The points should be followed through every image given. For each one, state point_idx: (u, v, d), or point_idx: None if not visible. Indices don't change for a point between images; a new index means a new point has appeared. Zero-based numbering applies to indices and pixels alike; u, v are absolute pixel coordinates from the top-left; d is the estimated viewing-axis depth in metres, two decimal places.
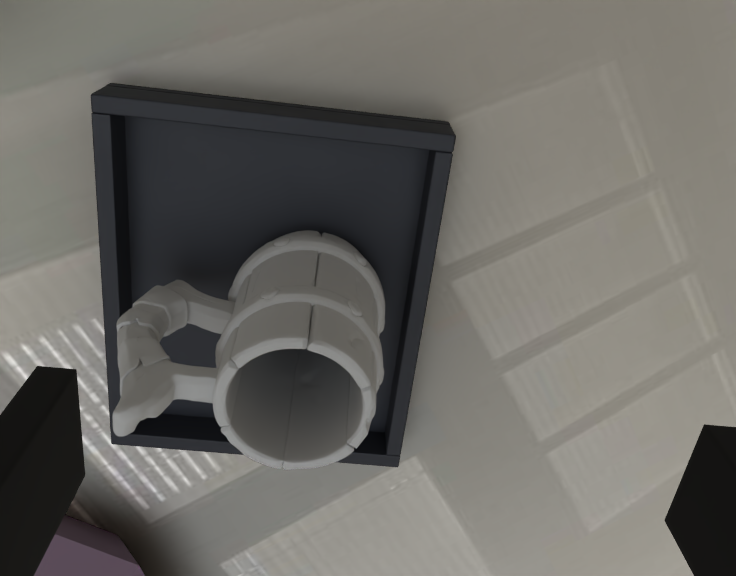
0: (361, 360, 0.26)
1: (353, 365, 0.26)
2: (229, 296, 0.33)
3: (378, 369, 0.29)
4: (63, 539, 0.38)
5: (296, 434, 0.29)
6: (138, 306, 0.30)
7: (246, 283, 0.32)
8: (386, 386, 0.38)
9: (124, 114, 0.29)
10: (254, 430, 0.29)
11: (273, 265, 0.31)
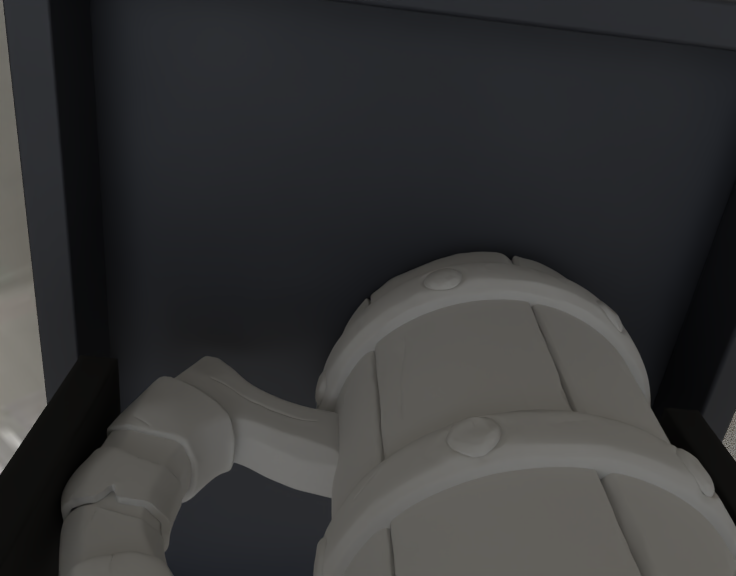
0: None
1: None
2: (320, 395, 0.15)
3: None
4: None
5: None
6: (119, 439, 0.13)
7: (368, 376, 0.14)
8: None
9: None
10: None
11: (438, 340, 0.13)
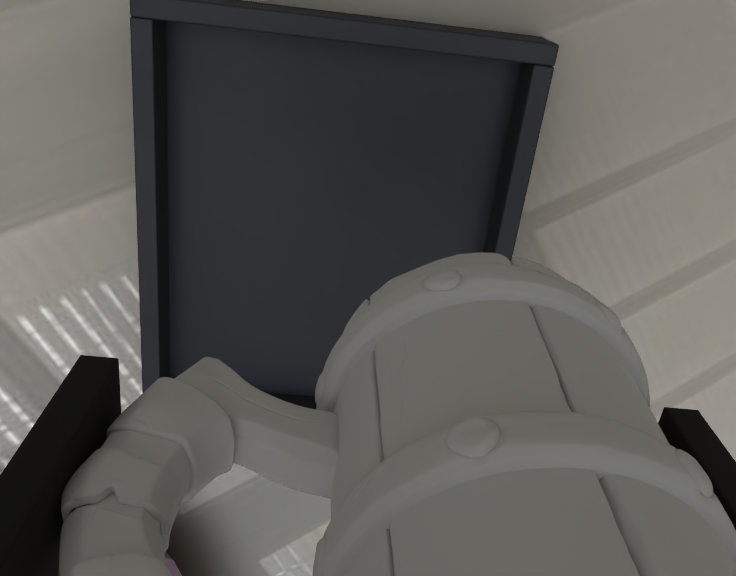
0: None
1: None
2: (319, 396, 0.15)
3: None
4: None
5: None
6: (119, 440, 0.13)
7: (368, 377, 0.14)
8: None
9: (169, 18, 0.25)
10: None
11: (437, 340, 0.13)
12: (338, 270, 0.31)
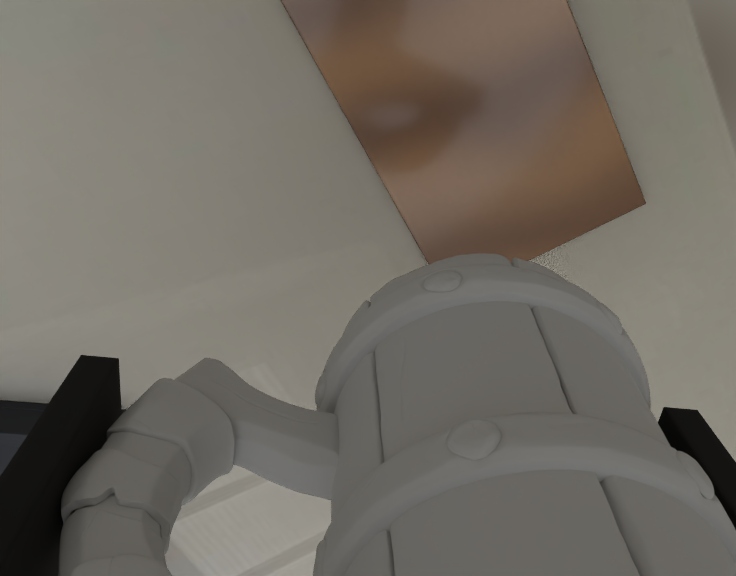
0: None
1: None
2: (320, 397, 0.15)
3: None
4: None
5: None
6: (119, 442, 0.13)
7: (368, 378, 0.14)
8: None
9: None
10: None
11: (437, 342, 0.13)
12: None
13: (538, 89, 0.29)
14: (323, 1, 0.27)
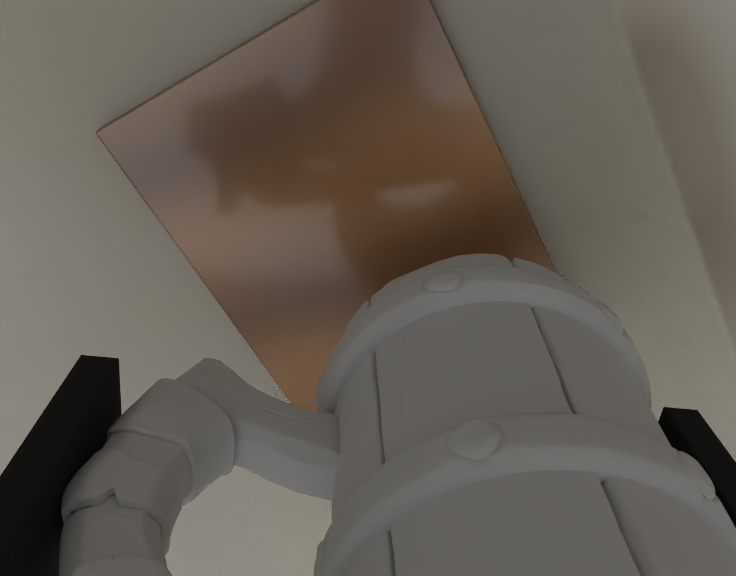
0: None
1: None
2: (320, 397, 0.15)
3: None
4: None
5: None
6: (119, 442, 0.13)
7: (369, 379, 0.14)
8: None
9: None
10: None
11: (438, 342, 0.13)
12: None
13: None
14: (169, 156, 0.20)
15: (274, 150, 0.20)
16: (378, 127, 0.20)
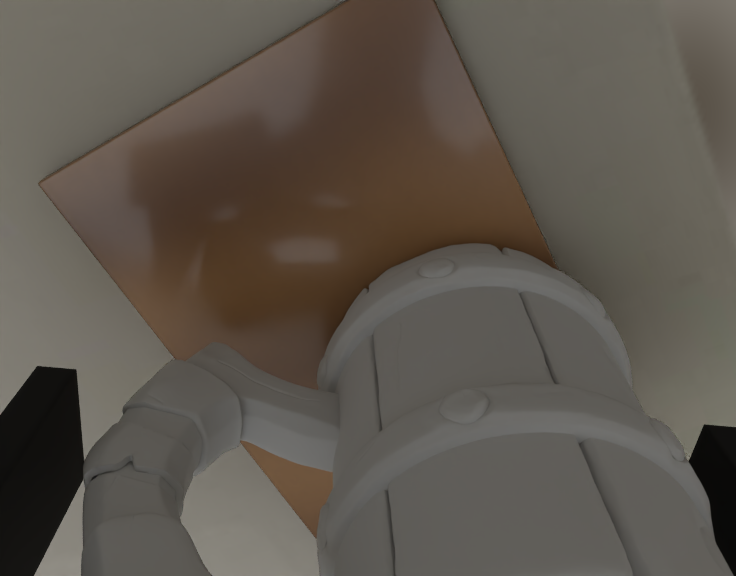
0: None
1: None
2: (321, 378, 0.16)
3: None
4: None
5: None
6: (135, 416, 0.14)
7: (367, 358, 0.15)
8: None
9: None
10: None
11: (431, 323, 0.14)
12: None
13: None
14: (128, 211, 0.17)
15: (255, 204, 0.17)
16: (381, 176, 0.16)
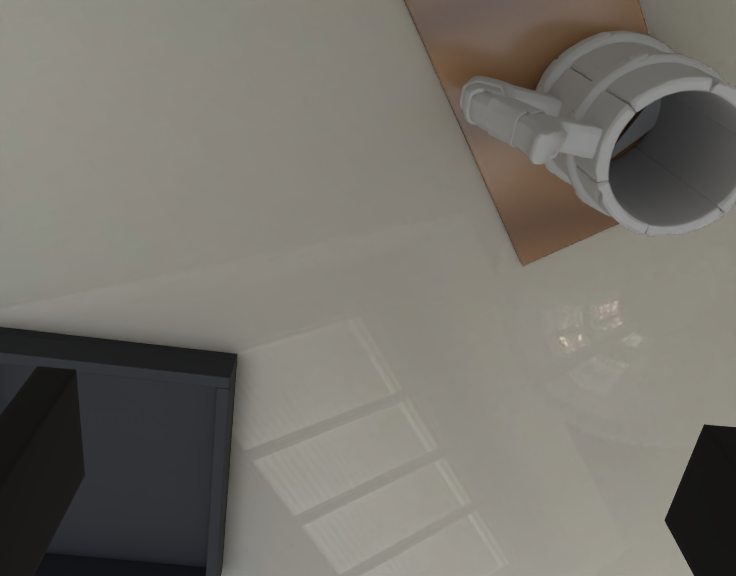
0: None
1: None
2: None
3: None
4: None
5: (642, 211, 0.29)
6: None
7: (572, 72, 0.31)
8: (207, 535, 0.48)
9: None
10: None
11: (606, 51, 0.31)
12: (117, 484, 0.46)
13: None
14: (443, 10, 0.33)
15: (507, 9, 0.33)
16: None
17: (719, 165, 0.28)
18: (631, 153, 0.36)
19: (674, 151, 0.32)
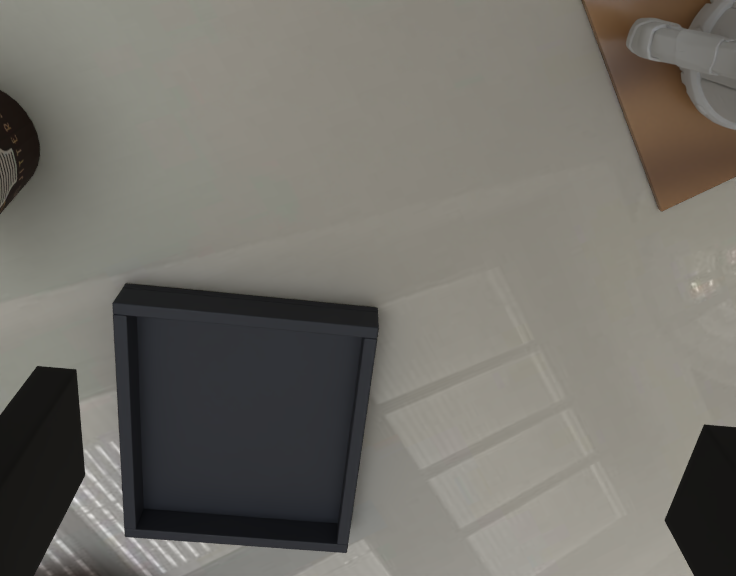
0: None
1: None
2: None
3: None
4: None
5: None
6: None
7: None
8: (337, 490, 0.49)
9: (136, 315, 0.40)
10: None
11: None
12: (254, 440, 0.47)
13: None
14: None
15: None
16: None
17: None
18: None
19: None
